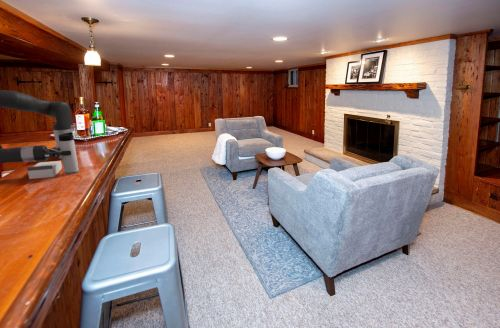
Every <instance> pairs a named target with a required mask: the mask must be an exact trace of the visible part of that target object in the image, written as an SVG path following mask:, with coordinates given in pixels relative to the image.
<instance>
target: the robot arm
mask: <svg viewBox="0 0 500 328" xmlns="http://www.w3.org/2000/svg"><path fill="white" fill-rule="evenodd" d="M0 108H6V109H11V110H16V111H20V112H28V113H38V114H41V115H46V116H49V117H52V118H55V119H56V121H55V123H54V124H53V125H52V129H53V136H54V140H55V141H54V142H55V146H53V147H50V148H48V146H47V145H46V144H45V145H44V144H43V145H42V144H41V145H28V146H27V145H26V146H21V147H20V146H19V147H18V146H17V147H10V148H3V146H2V144H1V143H0V164H5V163H6V164H7V163H25V162H27V163H29V162H30V163H33V162H47V161H48V159H55V158H58V159H59V160H62V156H68V155H71V151H62V152H61V149H60V143H59V137H58V136H59V135H61V134H64V133H69V132H72V133H73V130H72V126H73V125H72V124H73V119H72V110H71V107H70V105H69V104H68V103H67V102H64V101H49V100H42V99H38V98H36V97H34V96H32V95H30V94H27V93H23V92H19V91H15V90H5V89H3V90H2V89H1V90H0Z"/></svg>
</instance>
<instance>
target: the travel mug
mask: <svg viewBox="0 0 500 328" xmlns="http://www.w3.org/2000/svg"><path fill="white" fill-rule="evenodd" d="M58 137H59V143H60V149H61V152H62V151H71V155H68V156H62V159H61V160H62V165H63V166H62V167H63V170H64V174H66V175H75V174H78V173H80V169H79V162H78V156H77V151H76V144H75V140H74V139H75V138H74V133H73V131H72V132H69V133H64V134H61V135H59V136H58Z"/></svg>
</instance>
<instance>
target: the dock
mask: <svg viewBox="0 0 500 328" xmlns="http://www.w3.org/2000/svg"><path fill="white" fill-rule="evenodd" d="M62 165H63V163H62V161H61V160H57V161H39V162H38V163H36V164H35V165H33V166H27V167H26V169H27V174H28V178H29V180H32V179H45V178H54V177H55V176H56V175H57V174H58V173H59V172H60V171H61V170H62V169H63V166H62Z"/></svg>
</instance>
